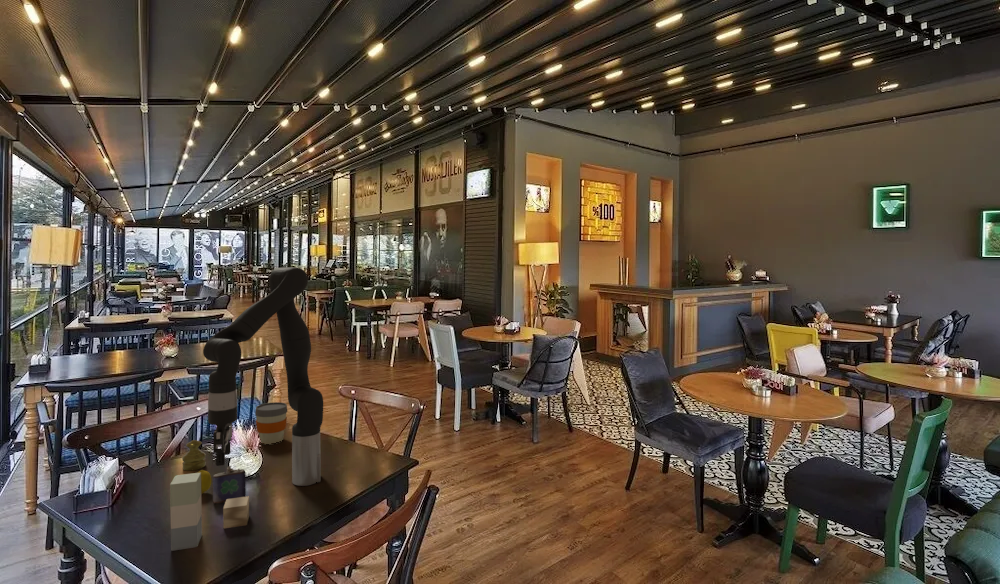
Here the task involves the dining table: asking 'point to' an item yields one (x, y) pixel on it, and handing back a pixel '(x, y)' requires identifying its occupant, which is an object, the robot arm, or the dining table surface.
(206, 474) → the lemon
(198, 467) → the olive tiered cone
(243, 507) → the maple cube
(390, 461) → the dining table surface
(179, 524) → the tower mid
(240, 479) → the flask
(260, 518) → the dining table surface
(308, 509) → the dining table surface
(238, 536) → the dining table surface
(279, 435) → the reusable coffee cup
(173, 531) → the tower base
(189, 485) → the tower top
